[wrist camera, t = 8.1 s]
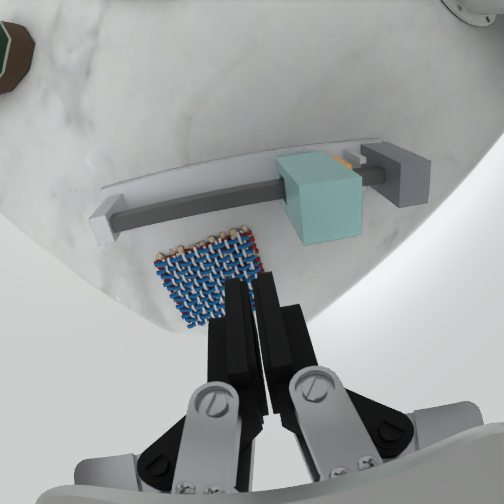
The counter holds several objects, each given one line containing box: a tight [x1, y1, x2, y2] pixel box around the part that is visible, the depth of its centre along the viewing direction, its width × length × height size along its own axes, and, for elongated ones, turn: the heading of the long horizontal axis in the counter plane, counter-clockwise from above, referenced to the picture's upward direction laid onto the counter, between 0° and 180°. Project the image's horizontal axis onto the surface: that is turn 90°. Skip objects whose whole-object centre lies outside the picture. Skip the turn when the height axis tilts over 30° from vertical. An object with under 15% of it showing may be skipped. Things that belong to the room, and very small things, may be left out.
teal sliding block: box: [275, 151, 362, 246], centre depth 21 cm, size 4×4×7 cm
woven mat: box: [154, 225, 265, 328], centre depth 32 cm, size 10×11×2 cm
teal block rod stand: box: [88, 139, 431, 246], centre depth 23 cm, size 28×4×8 cm, turn 99°
